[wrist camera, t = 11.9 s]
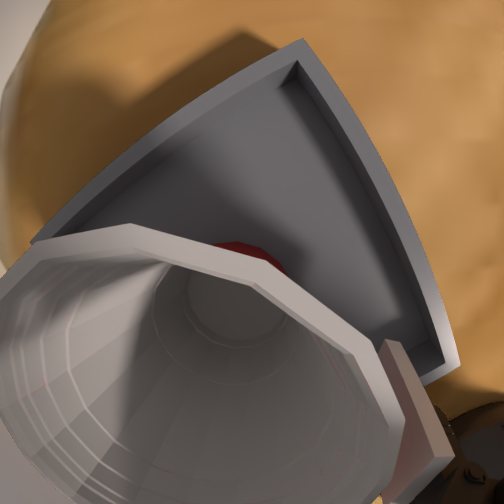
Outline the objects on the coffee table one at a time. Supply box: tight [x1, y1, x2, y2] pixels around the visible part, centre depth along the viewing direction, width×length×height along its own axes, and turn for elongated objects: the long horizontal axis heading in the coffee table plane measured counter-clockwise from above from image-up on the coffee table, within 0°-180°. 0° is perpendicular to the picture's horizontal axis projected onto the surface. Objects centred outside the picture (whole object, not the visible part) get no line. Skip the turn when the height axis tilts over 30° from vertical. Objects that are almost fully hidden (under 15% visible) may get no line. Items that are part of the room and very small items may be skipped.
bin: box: [30, 38, 461, 387], centre depth 16 cm, size 18×18×4 cm
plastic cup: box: [0, 223, 405, 504], centre depth 11 cm, size 11×11×12 cm
